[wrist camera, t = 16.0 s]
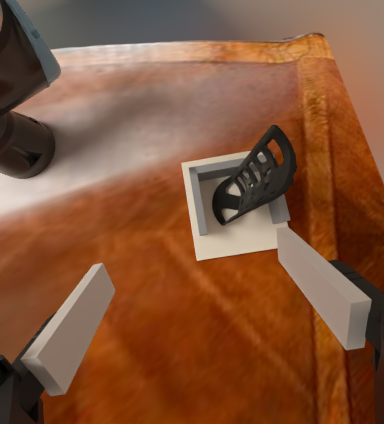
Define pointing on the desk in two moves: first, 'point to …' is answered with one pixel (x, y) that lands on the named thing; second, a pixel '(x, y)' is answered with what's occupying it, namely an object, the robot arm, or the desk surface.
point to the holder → (267, 186)
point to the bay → (229, 210)
